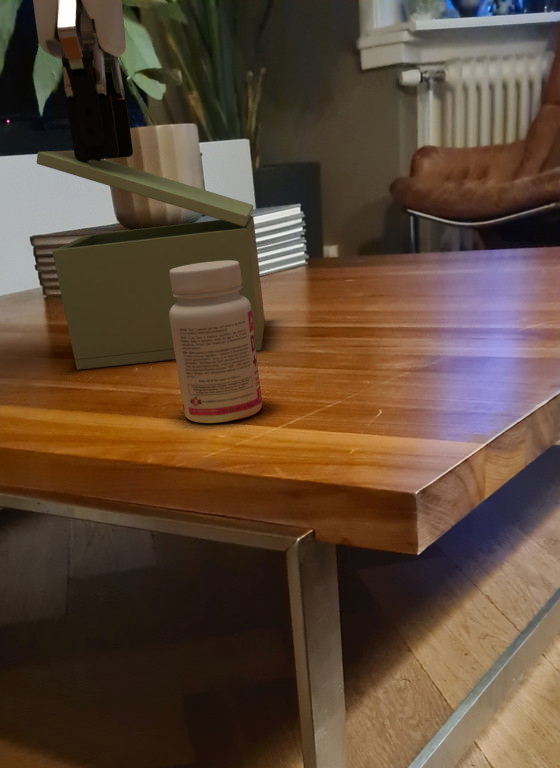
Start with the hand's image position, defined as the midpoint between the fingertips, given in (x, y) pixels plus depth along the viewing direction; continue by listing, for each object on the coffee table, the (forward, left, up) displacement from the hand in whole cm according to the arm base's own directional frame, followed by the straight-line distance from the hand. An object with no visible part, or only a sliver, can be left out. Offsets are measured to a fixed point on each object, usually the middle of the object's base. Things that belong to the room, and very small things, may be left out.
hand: (105, 156), depth 70 cm
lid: (+3, -2, -3) cm, 4 cm away
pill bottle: (-4, -26, -15) cm, 30 cm away
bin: (+3, -2, -15) cm, 15 cm away
